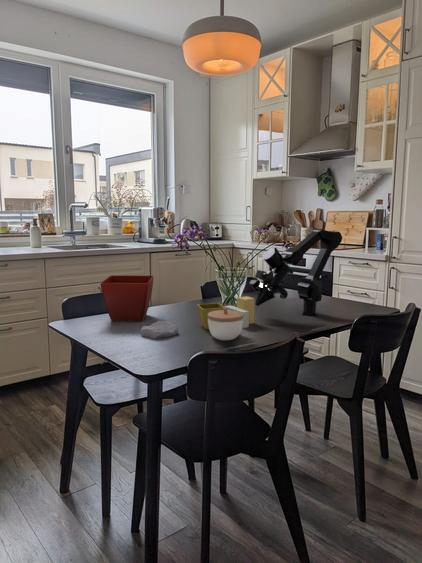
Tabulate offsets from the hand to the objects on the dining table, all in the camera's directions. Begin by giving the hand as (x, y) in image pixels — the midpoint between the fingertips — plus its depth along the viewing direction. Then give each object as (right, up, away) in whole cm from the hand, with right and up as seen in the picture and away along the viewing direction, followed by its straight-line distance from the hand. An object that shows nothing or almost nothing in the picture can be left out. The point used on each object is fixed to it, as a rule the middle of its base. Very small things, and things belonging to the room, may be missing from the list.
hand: (256, 305), depth 177 cm
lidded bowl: (-13, -11, -20) cm, 26 cm away
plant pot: (-53, -6, +9) cm, 54 cm away
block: (-6, -7, -2) cm, 9 cm away
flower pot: (-18, -9, -7) cm, 21 cm away
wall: (-8, -8, -4) cm, 12 cm away
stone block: (-37, -10, -15) cm, 41 cm away
